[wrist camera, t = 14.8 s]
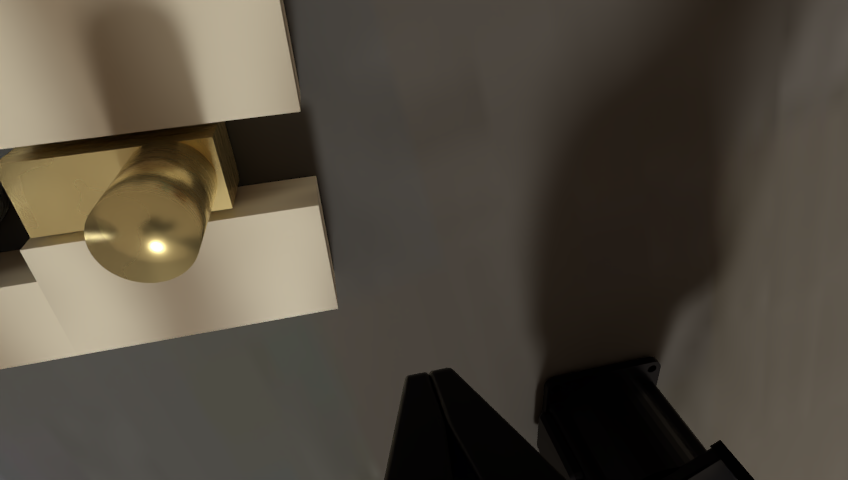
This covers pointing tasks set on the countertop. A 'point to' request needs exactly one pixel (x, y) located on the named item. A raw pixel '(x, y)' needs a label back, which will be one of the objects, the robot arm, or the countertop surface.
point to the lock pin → (127, 194)
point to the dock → (143, 111)
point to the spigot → (4, 202)
